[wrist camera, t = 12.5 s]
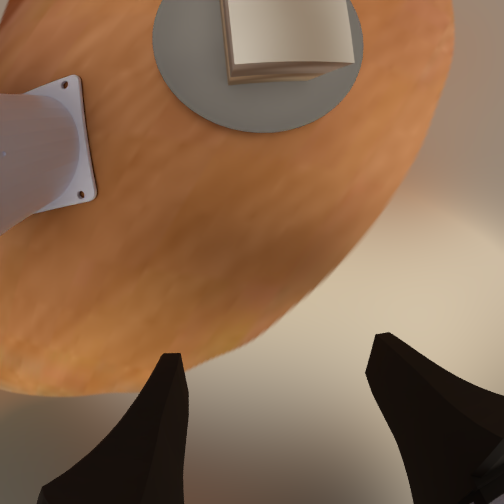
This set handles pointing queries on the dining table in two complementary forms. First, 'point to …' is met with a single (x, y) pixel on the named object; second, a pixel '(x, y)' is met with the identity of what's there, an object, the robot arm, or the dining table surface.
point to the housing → (284, 39)
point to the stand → (242, 95)
